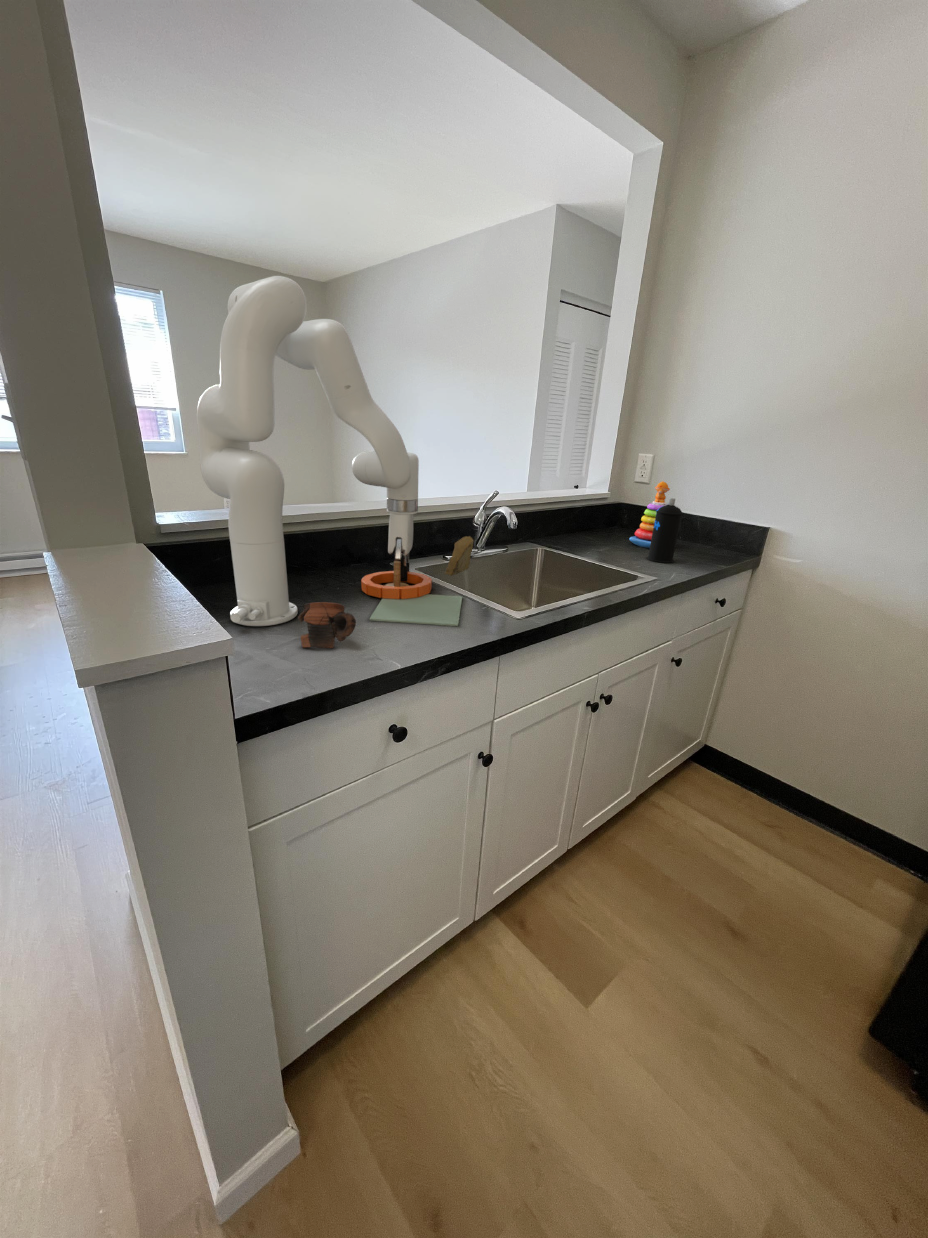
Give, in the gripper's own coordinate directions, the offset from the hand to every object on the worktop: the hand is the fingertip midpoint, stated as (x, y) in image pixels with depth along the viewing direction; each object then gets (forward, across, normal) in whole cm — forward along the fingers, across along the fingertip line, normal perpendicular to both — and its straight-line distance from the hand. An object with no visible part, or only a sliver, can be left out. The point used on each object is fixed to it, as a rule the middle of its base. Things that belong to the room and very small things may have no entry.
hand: (401, 578), depth 126 cm
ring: (+1, +7, 0) cm, 7 cm away
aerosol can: (+1, -42, +79) cm, 89 cm away
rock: (+1, -13, +13) cm, 18 cm away
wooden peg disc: (+1, +7, 0) cm, 7 cm away
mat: (+1, +19, +7) cm, 20 cm away
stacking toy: (+1, -65, +83) cm, 105 cm away
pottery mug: (+1, +39, -7) cm, 40 cm away
